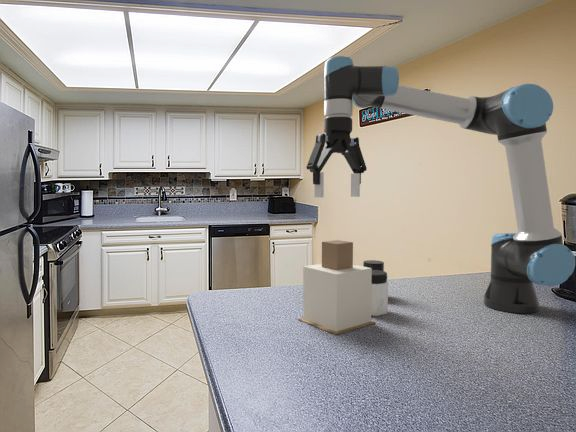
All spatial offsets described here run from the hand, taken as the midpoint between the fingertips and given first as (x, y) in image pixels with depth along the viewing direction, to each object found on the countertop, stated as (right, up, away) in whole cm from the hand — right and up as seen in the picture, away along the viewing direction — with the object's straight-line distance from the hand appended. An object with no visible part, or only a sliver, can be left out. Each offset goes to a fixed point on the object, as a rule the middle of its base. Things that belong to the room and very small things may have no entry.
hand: (337, 197), depth 112 cm
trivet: (0, -34, +2) cm, 35 cm away
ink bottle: (+15, -33, +29) cm, 46 cm away
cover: (0, -34, +2) cm, 34 cm away
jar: (+12, -34, +11) cm, 38 cm away
